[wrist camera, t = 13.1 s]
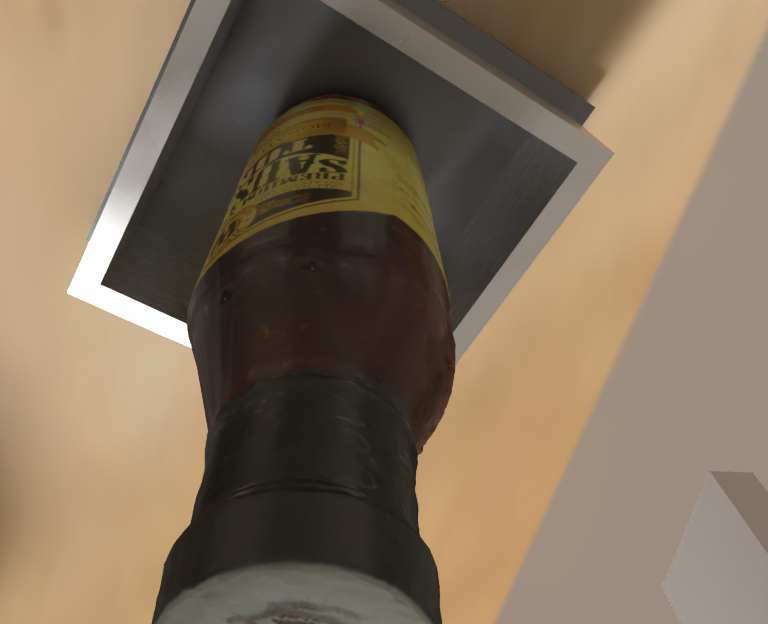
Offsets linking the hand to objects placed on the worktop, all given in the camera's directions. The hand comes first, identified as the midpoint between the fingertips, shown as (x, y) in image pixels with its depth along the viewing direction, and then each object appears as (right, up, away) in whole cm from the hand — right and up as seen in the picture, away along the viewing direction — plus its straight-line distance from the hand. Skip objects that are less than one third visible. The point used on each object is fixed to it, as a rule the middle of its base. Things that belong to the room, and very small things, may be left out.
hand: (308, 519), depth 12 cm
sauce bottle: (-1, +9, +15) cm, 18 cm away
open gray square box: (-1, +9, +16) cm, 19 cm away
